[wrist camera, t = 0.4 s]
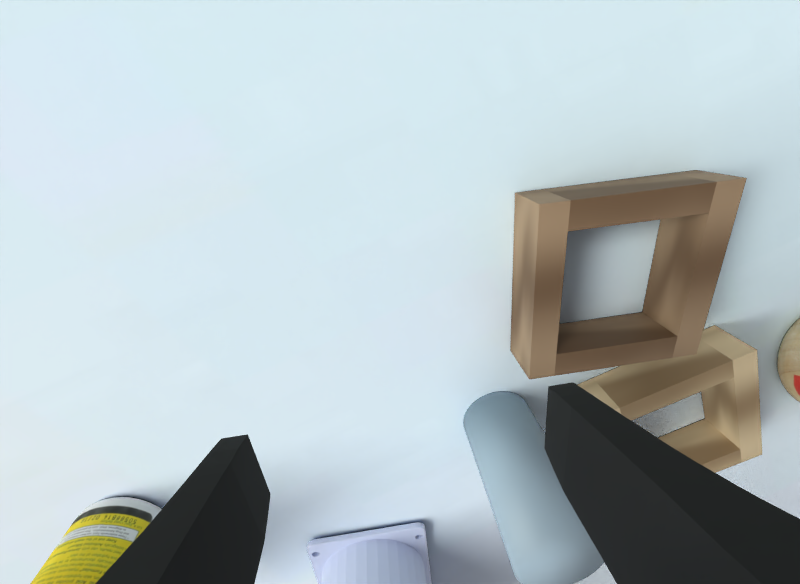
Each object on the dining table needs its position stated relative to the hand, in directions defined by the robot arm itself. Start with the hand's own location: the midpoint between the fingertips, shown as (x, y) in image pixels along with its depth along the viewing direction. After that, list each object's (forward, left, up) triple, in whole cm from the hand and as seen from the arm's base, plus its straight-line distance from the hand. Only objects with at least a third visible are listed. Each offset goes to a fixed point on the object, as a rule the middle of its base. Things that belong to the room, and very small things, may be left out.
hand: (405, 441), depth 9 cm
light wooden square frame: (-11, -16, -10) cm, 21 cm away
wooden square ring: (-1, -11, -10) cm, 15 cm away
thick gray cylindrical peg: (-10, -6, -10) cm, 15 cm away
